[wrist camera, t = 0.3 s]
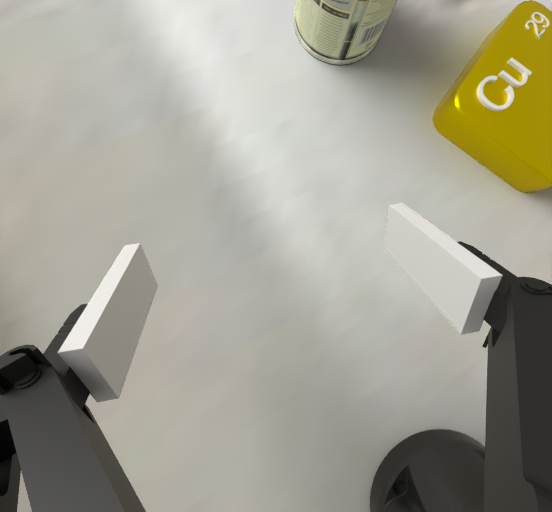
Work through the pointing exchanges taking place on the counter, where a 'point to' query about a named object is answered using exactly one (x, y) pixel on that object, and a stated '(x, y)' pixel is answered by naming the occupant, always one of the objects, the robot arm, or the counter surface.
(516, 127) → the element tile
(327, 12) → the coffee can
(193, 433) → the counter surface
